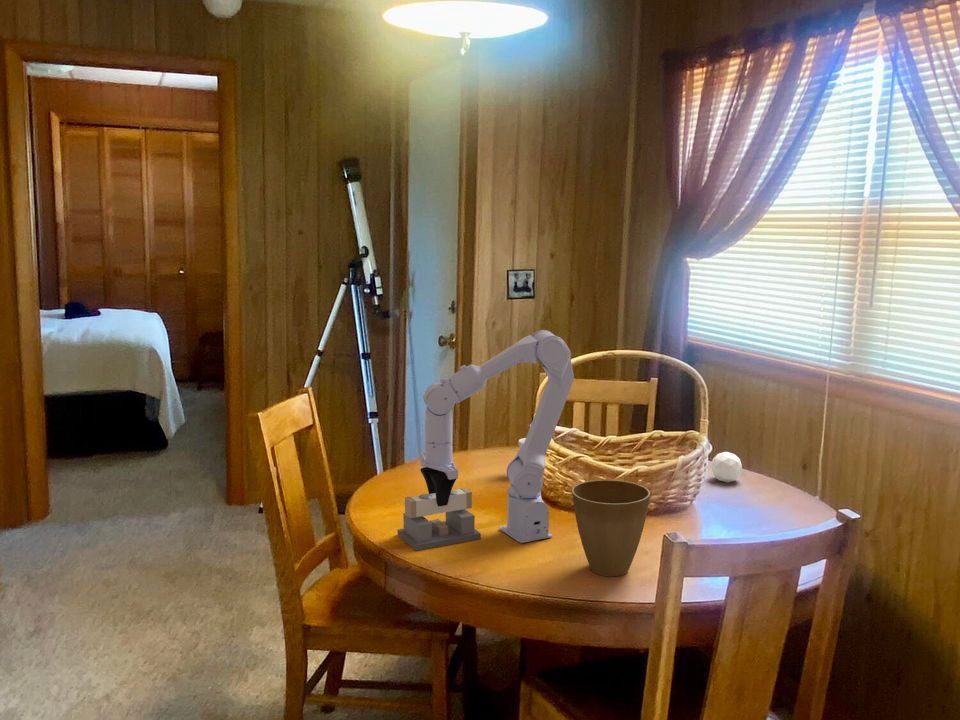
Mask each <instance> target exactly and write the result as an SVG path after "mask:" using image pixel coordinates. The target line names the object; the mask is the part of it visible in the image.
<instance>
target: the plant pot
mask: <svg viewBox="0 0 960 720" xmlns="http://www.w3.org/2000/svg"><path fill="white" fill-rule="evenodd" d="M571 495H572V503H573V509H574V514H575V520H576V526H577V531H578V535H579V538H580V540H581V541H580V542H581V544H582V548H583V552H584V554H585V558H586V560H587V563H588V565H589V568H590V570H591V571H592V572H593V573H595V574H597V575H599V576H603V577H619V576H623V575H626V574H627V573H628V572H629V570H630V568H631V566H632V563H633V561H634V559H635V555H636V553H637V550H638V547H639V545H640V540H641V538H642V534H643V531H644V527H645V523H646V520H647V515H648V509H649V505H650V497H651V492H650V490H649V489H648V488H647V487H645V486H644V485H641V484H638V483H636V482H631V481H626V480H618V479H596V480H594V479H593V480H587V481H583V482H580V483H578V484H576V485H574V486H573V487H572V489H571Z"/></svg>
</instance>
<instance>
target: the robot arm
mask: <svg viewBox="0 0 960 720" xmlns="http://www.w3.org/2000/svg"><path fill="white" fill-rule="evenodd" d="M571 355H572V352H571V350H570V348H569V346H568V345H567V343H566V342H565V341H564V339H563V338H562V337H559V336H558V335H555V334H554V333H553V332H551V331H550V330H546V329H541V330H537V331H535V332H534V333H533V334H532V335H531V334H529V335H527V336H524V337H522V338H521V339H519V341H516V342H515V343H514V344H512V345H510V346H509V347H507V348H506V349H503V350H502V351H501V352H499V353H498V354H496V355H495V356H493V357H492V358H490V359H488V360H486V361H484V363H482V364H481V365H474V364H468V365H467V366H466V365H465V364H463V365H461V366H459V370H458V371H456V372H455V373H453V374H451V375H449V376H448V377H446V378H445V377H442V378H440V379H439V381H440V382H435V383H432V384H430V385H429V386H427V388H426V390H425V391H424V394H423V401H424V404H425V405H426V408H425V419H424V420H425V422H424V423H425V425H424V430H425V432H424V437H425V438H424V440H425V441H424V443H425V444H424V445H425V449H424V450H425V451H424V452H421V453H420V463H419V465H420V467H421V468H420V473H421V474H422V476H423V478H424V481H425V484H426V487H427V492H428V494H433V493H436V501H437V505H438V506H445V505H447V504H448V501H449V497H450V493H451V490H453V486H454V485H455V483H456V481H457V479H459V469H458V468H457V467H456V465H455V462H454V460H453V419H452V411H453V409H454V407H455V405H456V404H459V403H461V402H463V401H464V400H467V399H468V398H470V397H471V396H473V395H475V394H477V393H478V392H480V391H481V390H483V389H485V387H486V385H487V381H488V380H489V379H492V378H493V377H495V376H497V375H499V374H501V373H503V372H504V371H507V370H508V369H510V368H512V367H514V366H516V365H517V364H520V363H526V364H537V363H538V362H539V364H541V367H542V369H543V370H544V372H545V374H546V375H547V382H546V385H545V387H544V389H543V392H542V394H541V397H540V400H539V402H538V405H537V407H536V411H535V413H534V415H533V419H532V421H531V423H530V424H531V426H530V425H529V429H528V432H527V435H526V437H525V438H526V440H525V442H524V445H523V446H522V447H521V448H520V447H519V449H518V451H517V453H516V455H515V457H514V458H513V459H512V460H511V461H510V462H509V463H508V466H507V467H506V476H507V477H506V478H507V479H508V480H509V483H510V485H509V487H508V489H507V506H506V507H507V508H506V509H507V510H506V511H507V515H506V516H507V517H506V525H502V526H501V525H500V526H499V527H498V529H499V530H500V531H502V532H503V533H504V534H506V535H507V536H509V537H511V538H512V539H514V540H515V541H517V542H518V543H520V544H524V543H529V542H533V541H540V540H544V539H549V538H552V537H553V534H551V533H550V532H549V530H550V529H549V528H550V527H549V526H550V523H549V522H550V511H549V509H550V508H549V506H548V505H547V504H546V503H545V501H544V500H543V499H542V489H543V486H544V478H543V477H544V472H545V469H546V454H547V451H548V448H549V447H550V444H551V441H552V439H553V436H554V434H555V430H556V428H557V425H558V422H559V420H560V417H561V415H562V412H563V410H564V407H565V405H566V401H567V399H568V396H569V394H570V391H571V389H572V385H573V384H574V379H575V375H574V370H573V365H572V364H573V363H572V358H571V357H572V356H571ZM537 361H538V362H537Z"/></svg>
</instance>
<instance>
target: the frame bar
mask: <svg viewBox="0 0 960 720" xmlns="http://www.w3.org/2000/svg"><path fill="white" fill-rule="evenodd" d="M472 496H473V492H472V490H469V489H468V488H466V487H461V488H458V489H452V490H451V493H450V497H449V501H448V504H447V505H445V506H438V505H437V501H436V493H433V494H429V493H423V494H420V495H414V496H405V497H404V513H405V514H406V515H407V516H409V517H410V518H416V517H421V516H423V517H425V516H431V515H438V514H443V513H446V512H450V511H456V510H462V509H466V510H468V509H473V508H472V506H473V501H472V500H473V497H472Z"/></svg>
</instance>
